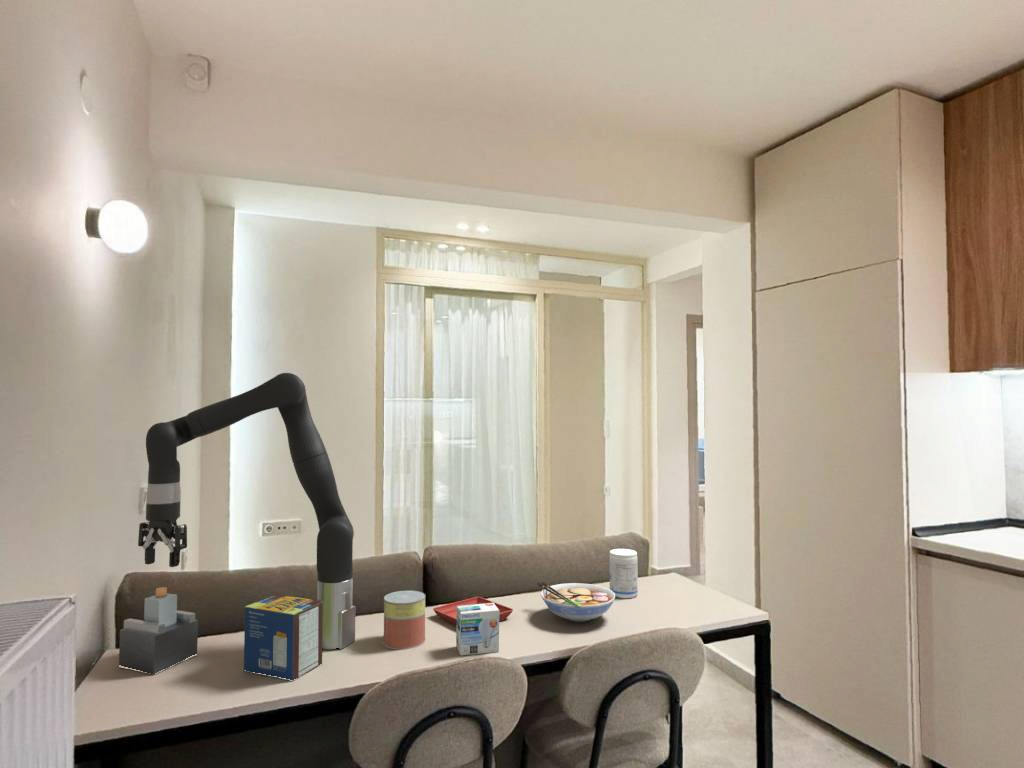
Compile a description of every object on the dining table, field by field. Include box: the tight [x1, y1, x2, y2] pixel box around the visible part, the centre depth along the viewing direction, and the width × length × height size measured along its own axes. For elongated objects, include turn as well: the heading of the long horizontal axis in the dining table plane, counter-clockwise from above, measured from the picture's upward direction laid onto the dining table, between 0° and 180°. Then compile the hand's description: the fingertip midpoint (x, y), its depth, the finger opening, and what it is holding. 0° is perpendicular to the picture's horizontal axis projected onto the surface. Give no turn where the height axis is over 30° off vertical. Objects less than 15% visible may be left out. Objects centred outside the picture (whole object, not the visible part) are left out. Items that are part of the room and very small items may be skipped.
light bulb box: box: [455, 603, 500, 656], centre depth 153 cm, size 11×7×11 cm, turn 105°
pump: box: [143, 586, 178, 627], centre depth 146 cm, size 5×5×9 cm
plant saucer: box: [432, 596, 514, 626], centre depth 176 cm, size 18×18×3 cm
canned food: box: [383, 589, 426, 650], centre depth 159 cm, size 11×11×12 cm
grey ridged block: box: [118, 609, 199, 675], centre depth 146 cm, size 12×12×11 cm
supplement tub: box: [608, 548, 639, 599], centre depth 199 cm, size 10×10×15 cm
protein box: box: [243, 594, 323, 681], centre depth 142 cm, size 10×15×16 cm
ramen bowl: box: [536, 581, 616, 623], centre depth 176 cm, size 25×23×8 cm
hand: (161, 565), depth 147 cm, fingers open, 8 cm apart
